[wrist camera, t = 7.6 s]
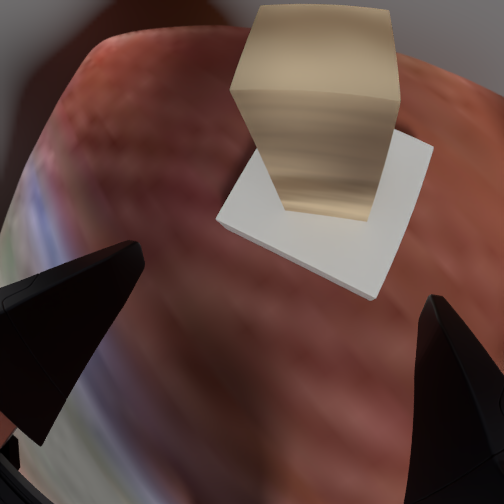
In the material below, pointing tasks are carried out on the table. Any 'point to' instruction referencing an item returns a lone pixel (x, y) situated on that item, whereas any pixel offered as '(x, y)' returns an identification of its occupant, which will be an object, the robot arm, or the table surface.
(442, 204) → the table surface
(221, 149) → the table surface
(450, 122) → the table surface
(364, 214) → the oak block
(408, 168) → the tile base
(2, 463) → the robot arm
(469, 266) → the table surface
